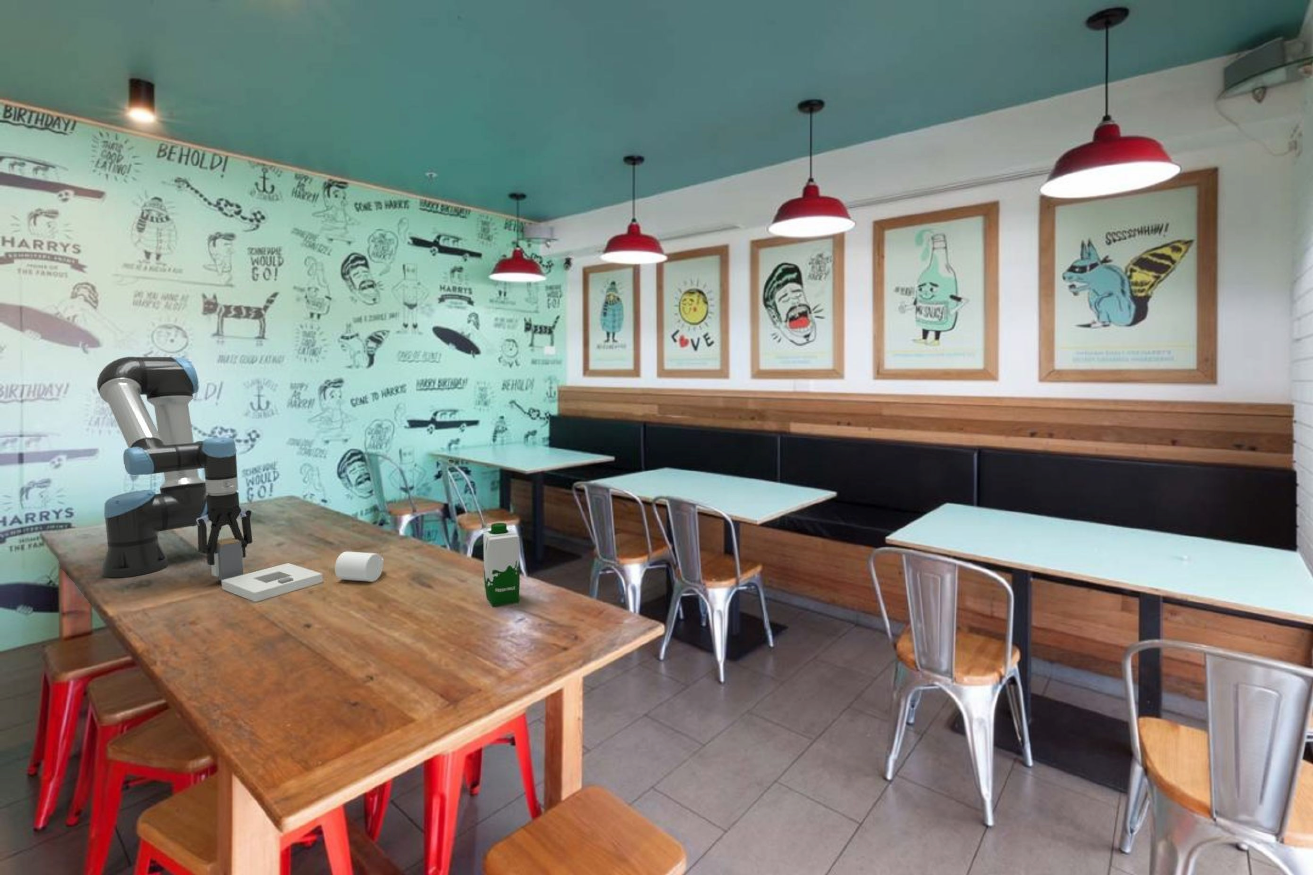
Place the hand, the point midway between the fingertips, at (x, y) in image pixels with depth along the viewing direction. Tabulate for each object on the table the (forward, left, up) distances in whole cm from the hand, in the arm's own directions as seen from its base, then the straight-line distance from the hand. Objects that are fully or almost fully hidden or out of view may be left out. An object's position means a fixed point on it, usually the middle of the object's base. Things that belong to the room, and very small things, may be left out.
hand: (227, 571), depth 179 cm
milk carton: (+77, +32, -3) cm, 83 cm away
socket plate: (+15, +5, -3) cm, 16 cm away
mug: (+30, +23, -3) cm, 38 cm away
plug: (0, 0, -1) cm, 1 cm away
